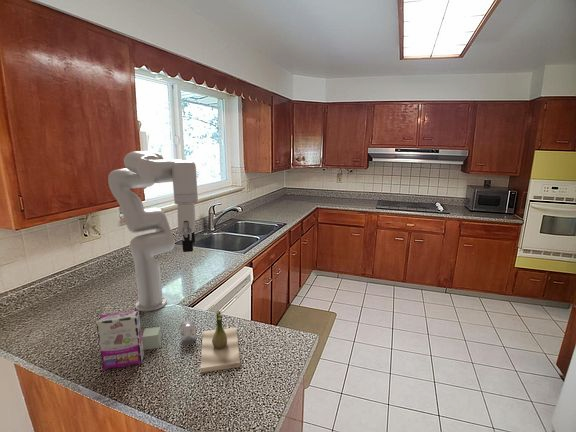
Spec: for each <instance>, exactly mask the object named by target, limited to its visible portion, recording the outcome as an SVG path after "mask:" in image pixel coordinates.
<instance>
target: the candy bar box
mask: <svg viewBox="0 0 576 432" xmlns="http://www.w3.org/2000/svg"><path fill="white" fill-rule="evenodd" d="M96 330H97V337H98V342H99V343H98V344H99V351H100V356H101V363H102V364H101V365H102V369H103V371H107V370H114V369H119V368H124V367H131V366H136V365H142V363H143V359H144V356H145V350H144V349H143V341H142V336H143V334H142V326H141V319H140V311H139V310H137V309H136V310H131V311H123V312H115V313H107V314H101V315H100V316H99V318H98V319H97V321H96Z"/></svg>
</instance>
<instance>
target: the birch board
mask: <svg viewBox="0 0 576 432" xmlns="http://www.w3.org/2000/svg"><path fill="white" fill-rule="evenodd" d="M223 329H224V331H225V333H226V336H227V344H226V346H224V347H223V348H222V349H217V348H215V347H214V346H213V343H212V339H213V335H214V333H215V331H216V329H212V330H204V331H202V339H201V340H202V343H201V352H200V353H201V354H200V366H199V367H200V373H206V372H212V371H220V370H227V369H234V368H241V359H240V349H239V339H238V330H237V327H229V328H223Z"/></svg>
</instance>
